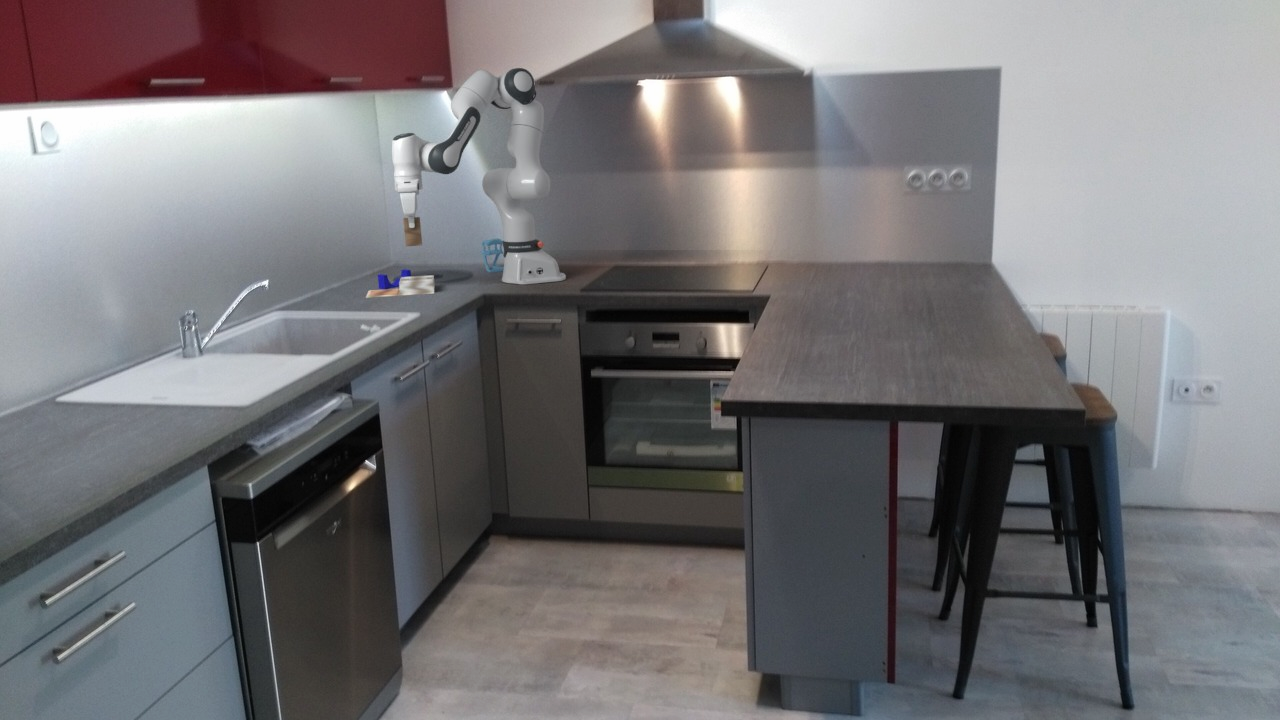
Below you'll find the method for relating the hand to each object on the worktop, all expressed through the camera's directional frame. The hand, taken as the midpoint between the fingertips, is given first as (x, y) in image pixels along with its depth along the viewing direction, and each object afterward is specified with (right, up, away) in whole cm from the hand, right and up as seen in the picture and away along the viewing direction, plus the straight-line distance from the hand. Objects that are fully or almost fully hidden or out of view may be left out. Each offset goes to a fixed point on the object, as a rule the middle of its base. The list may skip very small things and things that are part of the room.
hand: (412, 226), depth 350 cm
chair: (+20, -10, +47) cm, 53 cm away
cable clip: (-10, -20, +16) cm, 27 cm away
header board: (-5, -22, +5) cm, 23 cm away
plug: (0, -6, +2) cm, 6 cm away
